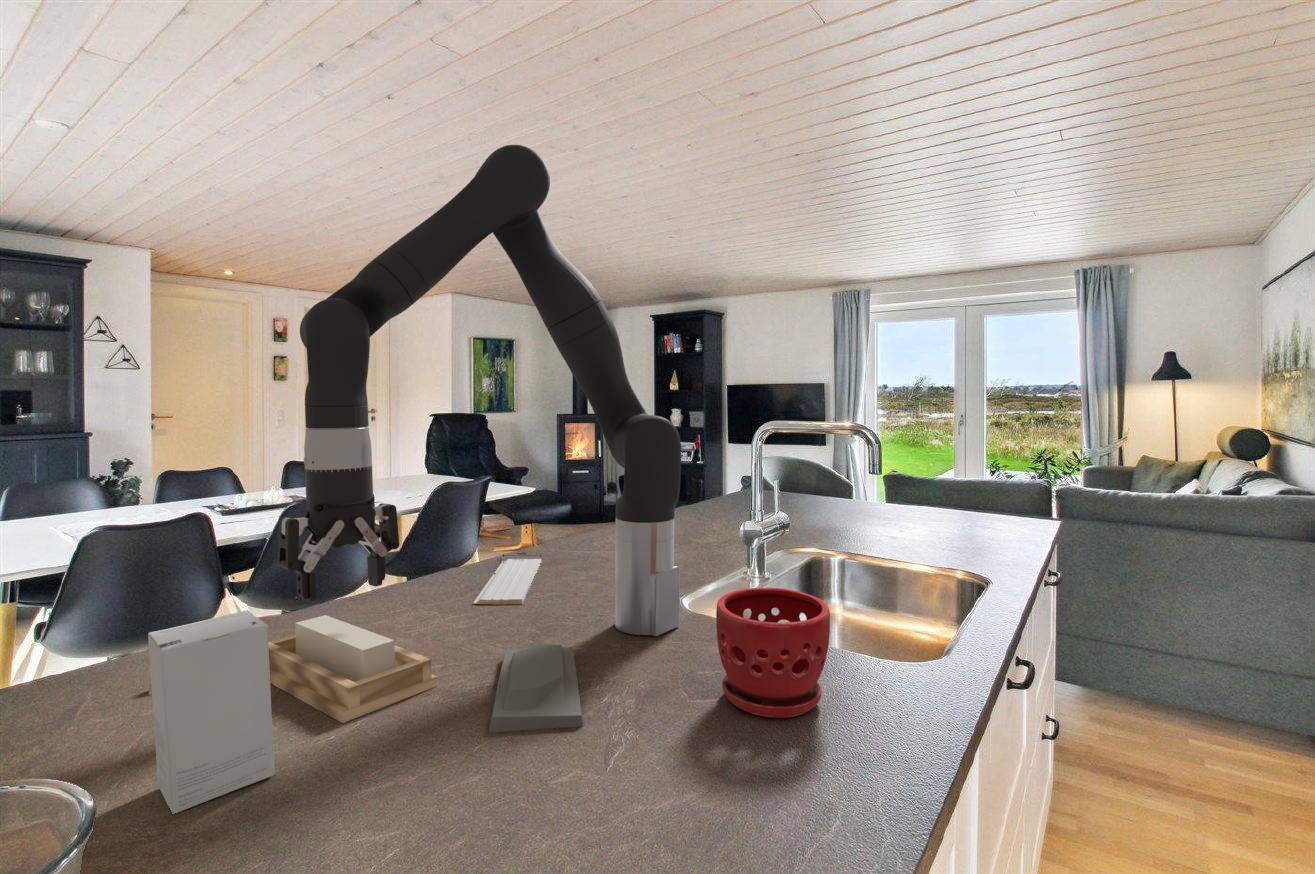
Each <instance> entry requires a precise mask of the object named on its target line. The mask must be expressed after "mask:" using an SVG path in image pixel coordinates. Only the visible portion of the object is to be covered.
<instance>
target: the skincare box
mask: <svg viewBox="0 0 1315 874" xmlns="http://www.w3.org/2000/svg"><path fill="white" fill-rule="evenodd" d="M147 638H148V641H147V642H148V656H149V657H148V658H149V676H150V685H151V686H152V695H151V699H152V700H151V701H152V712H153V713H152V715H153V728H154V742H155V756H156V757H155V759H156V775H157V786H158V788H159V790H160V792H161V794H162V797H163V798H164V801H165V802H166V804H167V807H168V806H169V807H168V809H169V808H170V809H169V810H171V811H170V813H171V812H172V813H171V814H172V815H176V814H178V813H180V812H183V811H185V810H188V809H190V808H192V807H196V806H199V805H200V804H202V803H205V802H206V803H207V802H208V801H211V800H213V799H214V800H215V798H218V797H221V796H224V795H227V794H230V792H231V793H232V792H234V791H237V790H239V789H242V788H244V787H247V786H250V785H252V784H255V783H258V782H260V781H263V780H266V779H268V778H270V777H272V776H274V775H275V755H274V754H275V753H274V738H273V718H272V716H273V715H272V712H273V711H272V696H271V695H272V694H271V691H272V690H271V689H272V688H271V683H270V667H269V646H268V642H269V625H268V624H267V623H266V622H264V621H263V620H261V619H260V618H259V617H257V616H256V615H255V614H253V613H252V611H250V610H248V609H245V610H243V611H238V612H234V613H230V614H225V615H221V616H217V617H213V618H209V619H205V620H201V621H195V622H192V623H187V624H183V625H179V626H174V627H169V628H166V629H165V628H164V629H159V630H155V631H154V630H153V631H150V632H148V634H147ZM175 813H176V814H175Z"/></svg>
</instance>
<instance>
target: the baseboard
mask: <svg viewBox="0 0 1315 874" xmlns="http://www.w3.org/2000/svg"><path fill="white" fill-rule="evenodd" d="M507 556H509V557H510V556H511V557H512V556H513V557H514V556H517V557H518V556H519V557H520V556H522V557H523V556H526V557H527V556H534V557H535V556H538V557H539V556H540V557H542V554H539V555H537V554H536V555H533V554H531V555H528V554H527V553H526V552H521V553H519V552H518V553H516V555H514V554H513V555H512V554H511V555H509V554H508V555H505V554H502V557H507ZM496 560H497V561H499V566H498V567H497V569H495V571H494V573H496V574H495V575H494V573H493V574H492V575H491V577H490V578H489V580H488V581H487V582H486V584H485V586H484V587H483V588H482V589H481V591H480V593H479V594H478V595H477V597H476V598H475V600H474V601H473V603H472V605H473V604H493V605H523V604H524V602H525V600H524V599H526V597H527V595H528V593H529V591H528V590H530V589H531V587H530V586H532V584H533V582H534V580H535V578H534V576H535V574H536V573H538V571H539V569H540V567H541V565H540V563H541V564H542V558H522V559H521V558H508V559H506V560H505V561H503V560H502V559H500V558H497V559H496ZM503 562H504V563H503ZM539 566H540V567H539ZM538 568H539V569H538ZM537 570H538V571H537ZM536 575H537V574H536ZM535 577H536V576H535ZM533 579H534V580H533ZM532 581H533V582H532ZM531 583H532V584H531ZM529 588H530V589H529ZM527 592H528V593H527ZM526 594H527V595H526ZM523 601H524V602H523Z"/></svg>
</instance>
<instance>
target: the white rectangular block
mask: <svg viewBox="0 0 1315 874" xmlns="http://www.w3.org/2000/svg"><path fill="white" fill-rule="evenodd" d="M294 627H295V629H294V631H295V632H294V635H295V638H296V655H298V656H300V657H302V658H304V659H307V660H309V661H311V662H313V663H315V664H317V665H319V666H321V667H323V668H325V669H328V670H330V671H332V672H334V673H336V674H338V675H340V676H342V677H344V678H347V679H349V680H351V681H353V682H355V681H358V680H361V679H364V678H367V677H370V676H373V675H375V674H378V673H381V672H384V671H387V670H390V669H393V668H395V647H394V645H395V639H392V638H389V637H386V636H385V635H381V634H378V633H376V632H372V631H370V630H367V629H364V628H362V627H359V626H357V625H354V624H352V623H348V622H345V621H342V620H341V619H337V618H334V617H332V616H329V615H326V614H324V615H320V616H318V617H313V618H308V619H306V620H302V621H298V622H295V623H294Z"/></svg>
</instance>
